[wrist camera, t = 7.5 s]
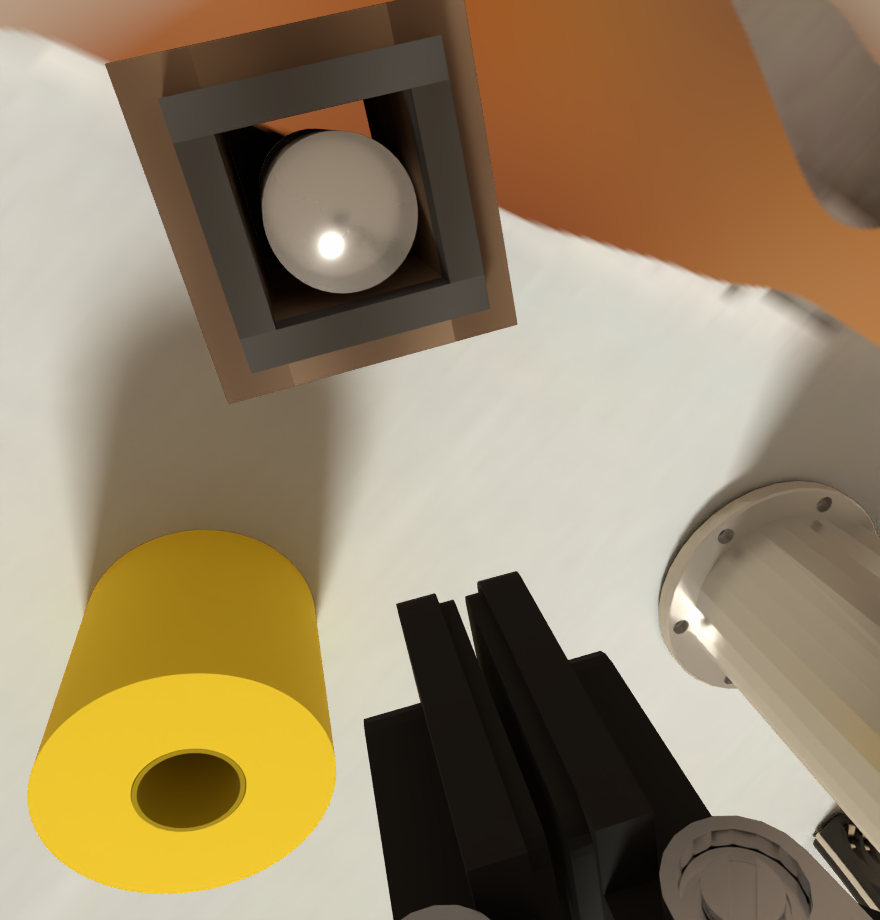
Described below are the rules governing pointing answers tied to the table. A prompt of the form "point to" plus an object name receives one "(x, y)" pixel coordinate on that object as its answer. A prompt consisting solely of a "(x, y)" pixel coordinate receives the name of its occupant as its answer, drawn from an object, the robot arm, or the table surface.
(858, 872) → the battery charger
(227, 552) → the tape roll
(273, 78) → the socket block
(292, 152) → the peg
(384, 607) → the table surface
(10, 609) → the table surface
